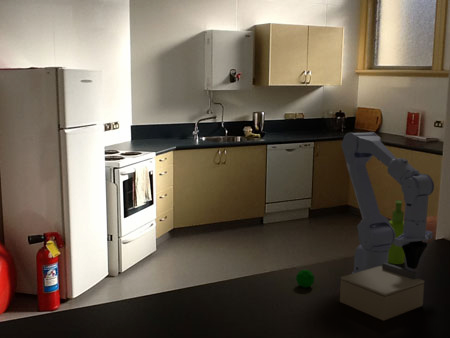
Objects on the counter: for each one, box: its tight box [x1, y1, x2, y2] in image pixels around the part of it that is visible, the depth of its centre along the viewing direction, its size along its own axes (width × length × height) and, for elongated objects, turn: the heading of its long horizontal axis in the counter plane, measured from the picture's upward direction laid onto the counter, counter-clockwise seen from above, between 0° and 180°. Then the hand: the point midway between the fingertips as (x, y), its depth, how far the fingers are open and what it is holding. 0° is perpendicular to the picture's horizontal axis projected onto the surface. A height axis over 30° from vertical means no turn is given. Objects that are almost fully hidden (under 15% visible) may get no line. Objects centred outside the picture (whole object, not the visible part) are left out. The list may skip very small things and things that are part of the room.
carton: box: [339, 279, 425, 321], centre depth 139 cm, size 14×16×6 cm
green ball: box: [295, 269, 315, 289], centre depth 151 cm, size 5×5×5 cm
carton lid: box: [340, 263, 425, 296], centre depth 139 cm, size 14×16×2 cm
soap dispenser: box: [388, 199, 406, 265], centre depth 174 cm, size 6×7×20 cm
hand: (411, 267), depth 146 cm, fingers closed
